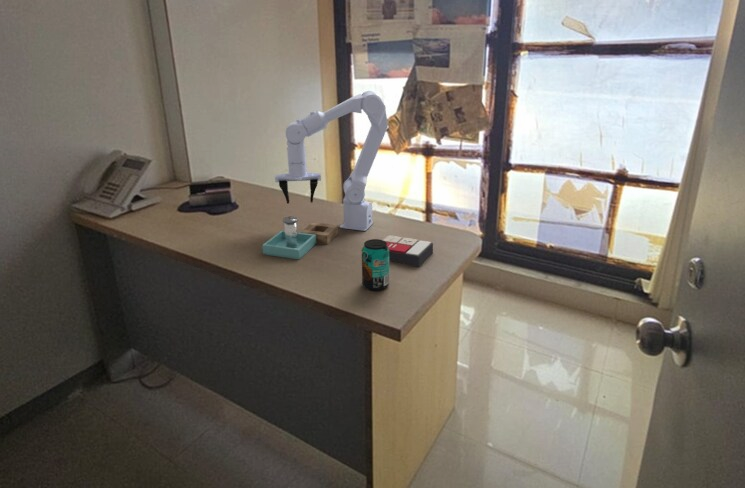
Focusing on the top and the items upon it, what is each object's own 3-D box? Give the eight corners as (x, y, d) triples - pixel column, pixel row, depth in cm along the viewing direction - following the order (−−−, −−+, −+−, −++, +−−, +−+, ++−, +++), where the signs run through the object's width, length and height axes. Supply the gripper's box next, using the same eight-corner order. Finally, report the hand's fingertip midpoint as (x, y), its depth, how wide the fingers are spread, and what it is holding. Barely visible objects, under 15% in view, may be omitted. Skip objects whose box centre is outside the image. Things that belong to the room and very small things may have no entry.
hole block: (338, 233, 159) (338, 225, 158) (327, 244, 151) (327, 235, 150) (313, 230, 162) (312, 222, 160) (301, 240, 154) (300, 232, 153)
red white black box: (388, 233, 150) (433, 240, 144) (388, 246, 152) (433, 253, 145) (371, 246, 142) (418, 254, 135) (372, 259, 143) (419, 268, 136)
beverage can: (361, 279, 130) (361, 238, 125) (387, 278, 130) (388, 237, 125) (362, 292, 124) (362, 249, 119) (390, 291, 124) (390, 249, 119)
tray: (316, 243, 152) (316, 234, 151) (299, 259, 141) (298, 250, 140) (282, 238, 155) (281, 230, 154) (263, 254, 145) (262, 244, 144)
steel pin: (301, 244, 150) (300, 217, 146) (295, 250, 146) (292, 222, 142) (289, 242, 151) (287, 215, 147) (282, 248, 147) (279, 220, 144)
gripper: (273, 165, 150) (276, 207, 155) (320, 163, 151) (322, 205, 157) (274, 159, 156) (278, 199, 162) (319, 158, 158) (321, 198, 163)
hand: (299, 202), depth 160 cm, fingers open, 7 cm apart
